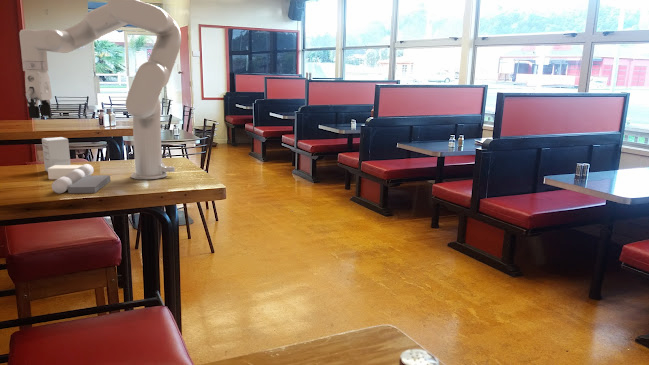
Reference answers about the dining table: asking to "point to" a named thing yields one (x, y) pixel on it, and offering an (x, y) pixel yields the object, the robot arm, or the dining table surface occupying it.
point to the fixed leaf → (80, 182)
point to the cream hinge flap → (68, 170)
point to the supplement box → (55, 151)
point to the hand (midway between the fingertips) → (40, 116)
